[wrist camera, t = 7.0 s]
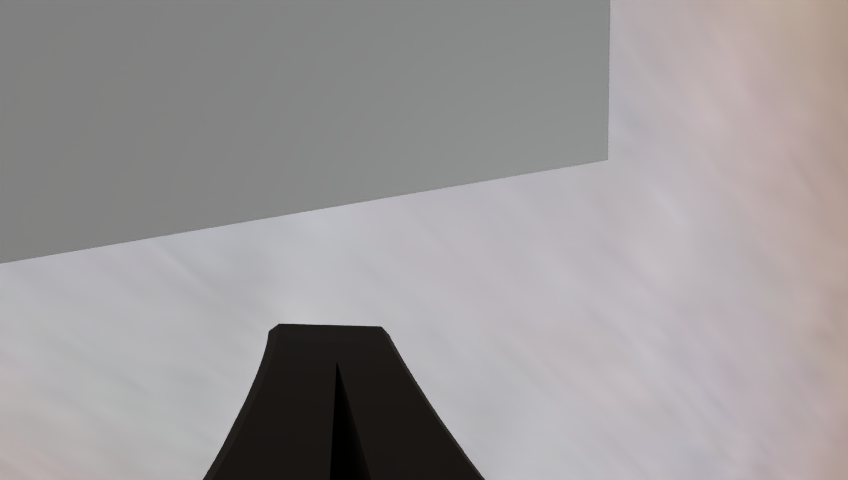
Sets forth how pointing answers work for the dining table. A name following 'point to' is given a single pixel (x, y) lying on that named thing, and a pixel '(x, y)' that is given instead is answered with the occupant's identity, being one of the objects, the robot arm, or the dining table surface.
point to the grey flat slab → (279, 107)
